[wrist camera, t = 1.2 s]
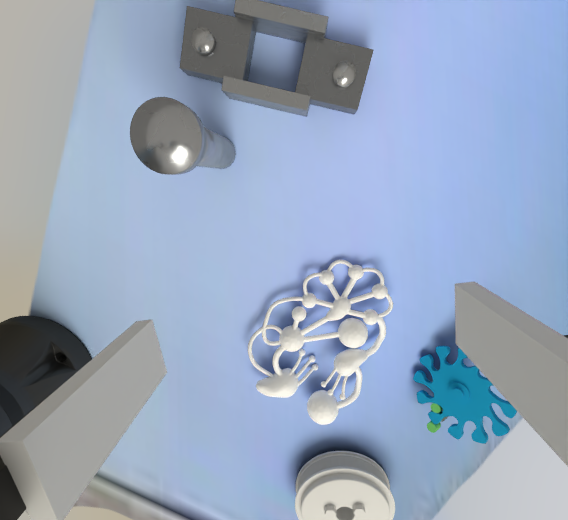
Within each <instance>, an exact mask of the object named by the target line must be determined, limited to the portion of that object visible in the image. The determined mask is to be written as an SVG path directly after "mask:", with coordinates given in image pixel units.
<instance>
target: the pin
mask: <svg viewBox="0 0 568 520" xmlns="http://www.w3.org/2000/svg"><path fill="white" fill-rule="evenodd" d="M130 138H131V143H132V146H133V149H134V151H135V153H136V155H137V156H138V158H139V159H140V160H141V162H142V163H143V164H144V165H146V166H147V167H148V168H150V169H151V170H153V171H155V172H158V173H161V174H184V173H187V172H189V171H191V170H192V169H194V168H195V167H196V166H199V167H209V168H219V169H224V168H227V167H229V166H230V165H231V164H232V163H233V162H234V159H235V155H236V151H235V147H234V145H233V143H232V142H231V141H230V140H229V139H227V138H225V137H223V136H221V135H219V134H217V133H215V132H213V131H211V130H209V129H207V128H205V127H204V126H203V124H202V122H201V120H200V118H199V117H198V116H197V114H196V113H195V112H194V111H193V110H191V109H190V108H189V107H187V106H185V105H184V104H182V103H180V102H179V101H177V100H174V99H171V98H167V97H157V98H153V99H150V100H148V101H146V102H145V103H143V104H142V105H141V106H140V107H139V108H138V109H137V110H136V112H135V114H134V116H133V118H132V121H131V126H130Z"/></svg>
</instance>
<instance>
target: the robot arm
mask: <svg viewBox="0 0 568 520" xmlns="http://www.w3.org/2000/svg"><path fill="white" fill-rule="evenodd" d="M455 329H456V345H457V346H458V347H459V348H460V349H461V350H462V351H463V352H464V353H465V355H466V356H467V357H468V358H469V359H470V360H471V361H472V362H473V363H474V364H475V365H476V367H477V368H478V369H479V370H480V371H481V372H482V373H483V374H484V375H485V376H486V377H487V379H488V380H489V381H490V382H491V383H492V384H493V385H494V386H495V387H496V388H497V390H498V391H499V392H500V393H501V394H502V395H503V396H504V397H505V398H506V399H507V400H508V402H509V403H510V404H511V405H512V406H513V407H514V408H515V409H516V410H517V411H518V412H519V414H520V415H521V416H522V417H523V418H524V419H525V420H526V421H527V422H528V423H529V425H530V426H531V427H532V428H533V429H534V430H535V431H536V432H537V433H538V434H539V435H540V437H541V438H542V439H543V440H544V441H545V442H546V443H547V444H548V445H549V446H550V447H551V449H552V450H553V451H554V452H555V453H556V454H557V455H558V456H559V457H560V458H561V460H562V461H563V462H564V463H565V464H566V465H567V466H568V335H564V336H563V335H561V334H560V333H558V332H556V331H555V330H553V329H551V328H550V327H548V326H547V325H545V324H543V323H542V322H540V321H538V320H537V319H535V318H533V317H532V316H530V315H528V314H527V313H525V312H524V311H522V310H520V309H519V308H517V307H515V306H514V305H512V304H510V303H509V302H507V301H505V300H504V299H502V298H501V297H499V296H497V295H496V294H494V293H492V292H491V291H489V290H487V289H486V288H484V287H482V286H481V285H479V284H478V283H476V282H467V283H458V284H455ZM166 373H167V370H166V367H165V363H164V360H163V356H162V352H161V349H160V345H159V342H158V338H157V335H156V331H155V328H154V324H153V321H152V320H144V321H136V322H135V323H134V324H133V325H132V326H130V327H129V328H128V329H127V330H126V331H125V332H123V333H122V334H121V335H120V336H119V337H118V338H116V339H115V340H114V341H113V342H112V343H111V344H109V345H108V346H107V347H106V348H105V349H104V350H102V351H101V352H100V353H99V354H98V355H97V356H95V357H94V358H93V359H91V357H90V355H89V353H88V351H87V350H86V348H85V347H84V345H83V344H82V343H81V342H80V341H79V340H78V339H77V338H76V337H75V336H74V335H73V334H72V333H71V332H70V331H68V330H67V329H65V328H64V327H62V326H61V325H59V324H57V323H55V322H53V321H50V320H47V319H44V318H40V317H35V316H19V317H14V318H10V319H8V320H6V321H3V322H1V323H0V520H17V519H18V518H19V517H20V516H21V514H22V513H23V512H24V511H25V510H26V511H27V513H28V515H29V517H30V519H31V520H64V518H65V517H66V516H67V514H68V513H69V512H70V510H71V508H72V507H73V506H74V504H75V503H76V502H77V500H78V499H79V497H80V496H81V494H82V493H83V492H84V490H85V489H86V487H87V486H88V484H89V483H90V482H91V480H92V479H93V477H94V476H95V474H96V473H97V472H98V470H99V469H100V467H101V466H102V465H103V463H104V462H105V460H106V459H107V457H108V456H109V455H110V453H111V452H112V450H113V449H114V447H115V446H116V445H117V443H118V442H119V440H120V439H121V437H122V436H123V435H124V433H125V432H126V430H127V429H128V427H129V426H130V425H131V423H132V422H133V420H134V419H135V418H136V416H137V415H138V413H139V412H140V410H141V409H142V408H143V406H144V405H145V403H146V402H147V400H148V399H149V398H150V396H151V395H152V393H153V392H154V390H155V389H156V388H157V386H158V385H159V383H160V382H161V381H162V379H163V378H164V376H165V375H166Z"/></svg>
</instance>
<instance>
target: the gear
mask: <svg viewBox="0 0 568 520" xmlns="http://www.w3.org/2000/svg"><path fill="white" fill-rule="evenodd" d="M450 351H451V350H450V347H449V346H438V347H436V353H437V354H438V356H439V358H440V370H437V369H435V368H434V366H433V362H434V359H433V356H432V355H431V354H428V355H425V356H423V357H422V358H420V362H421V364H422V365H424V366H425V367H426V368H427V369H428V370H429V371H430V373H431V375H432V378H433V382H431V381H429V380H428V379H427V376H426V374H425V373H424V372H423V371H422V370H419V371H417V372H416V373H415V375H414V378H413V379H414V381H415V382H417V383H422V384H424V385H426V386H427V387H428V388H430V389H431V390H432V391H433V393H434V397H432V396H430V395H429V394H428V393H427V392H426V391H424V390H420V391H419V392H417V399H418V402H419V403H421V404H424V403H427V402H432V403H433V404H432V405H431V409H432V410H431V412H429V413H428V415H429V418H430V419H431V421H430V422H429V423H428V424H427V428H428V430H429V431H430V432H433V433H434V432H436V431H437V430H438V429H439V428H440V427H441V424H440V421H444V420H445V419H446V418H447V417H449V416H454V417H455V418H456V419H457V420H458V424H453V425H451V426H450V427H449V429H448V432H449V433H450V434H451V435H452V436H453V437H455V438H456V439H460V438H461V437H462V436H463V433H464V432H463V427H464V424H465V422H466V421H472V422H474V423H475V425H476V430H475V431H474V432H473V433H472V439H473V440H474V441H476V442H478V443H486V442H487V441H488V435H487V433H486V432H485V430H484V427H483V423H482V422H483V416H487V417H489V418H490V419H491V420H492V422H493V424H492V430H493V432H494V434H495V435H496V436H502V435H505V434H507V433H508V432H509V430H510V429H509V427H508V425H507V424H506V423H504V422H503V421H502V420H500V419H499V418H498V417H497V415H496V414H495V412H494V410H493V408H492V406H491V403H496V404H498V405H499V406H500V407H501V409H502V411H503V413H504V414H505V415H506V416H507V417H509V418H513V417H514V416H515V414H516V413H517V410H516V409H515V408H514V407H513V406H512V405H511V404H510V403H509V402H508V401H505V400H503V399H501V398H499V397H498V396H496V395H495V394H494V393H493V392H492V391H491V390H490V386H491V385H493V384H492V383H491V382H490V381H489V380H488V379H487V378H485V377H483V376H481V375H480V373H479V369H478V368H477V367H476V366H472V367H468V366H466V365H464V363H463V359H464V358H468V357H467V356H466V355H465V353H464V352H463V351H462V350H461V349H460V348H458V358H457V360H456V361H455V363H454V364H449V363H448V362H447V360H446V358H447V356H448V355H449V354H450ZM493 386H494V385H493Z"/></svg>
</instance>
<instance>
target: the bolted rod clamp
mask: <svg viewBox="0 0 568 520" xmlns="http://www.w3.org/2000/svg"><path fill="white" fill-rule="evenodd" d="M234 13H235V16H236V17H232V16H228V15H223V14H219V13H215V12H211V11H206V10H202V9H198V8H194V7H189V6H187V11H186V19H185V28H184V36H183V44H182V53H181V61H180V69H181V70H182V71H184V72H185V73H186V74H187V75H190V76H194V77H198V78H202V79H207V80H211V81H215V82H219V83H223V84H222V91H223V92H224V93H225V94H226V95H227V96H228V97H229V98H230V99H234V100H238V101H242V102H247V103H251V104H255V105H259V106H264V107H268V108H272V109H276V110H280V111H285V112H289V113H293V114H297V115H302V116H306V117H307V114H308V110H309V106H310V104H312V105H317V106H321V107H325V108H329V109H333V110H338V111H342V112H346V113H350V114H355V113H356V111H357V109H358V106H359V102H360V98H361V95H362V91H363V87H364V83H365V80H366V76H367V72H368V69H369V65H370V61H371V57H372V54H373V50H372V49H368V48H364V47H360V46H355V45H351V44H347V43H343V42H338V41H334V40H330V39H326V38H325V36H326V30H327V23H328V17H327V16H322V15H318V14H314V13H310V12H305V11H301V10H297V9H293V8H288V7H284V6H280V5H276V4H271V3H267V2H263V1H259V0H236V1H235V7H234ZM256 32H260V33H264V34H268V35H272V36H277V37H281V38H285V39H290V40H294V41H298V42H302V43H306V44H305V49H304V53H303V58H302V63H301V67H300V72H299V76H298V81H297V86H296V90H295V92H290V91H286V90H282V89H278V88H273V87H269V86H265V85H261V84H256V83H252V82H248V76H249V70H250V65H251V59H252V53H253V47H254V42H255V36H256Z"/></svg>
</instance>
